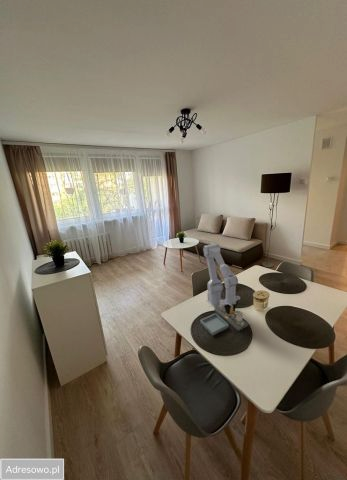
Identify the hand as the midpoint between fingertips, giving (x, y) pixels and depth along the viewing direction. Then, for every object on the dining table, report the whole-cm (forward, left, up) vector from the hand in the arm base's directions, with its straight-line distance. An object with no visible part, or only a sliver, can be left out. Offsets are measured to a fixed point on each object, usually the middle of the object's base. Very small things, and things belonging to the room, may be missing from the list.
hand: (230, 312), depth 120 cm
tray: (0, -13, -4) cm, 14 cm away
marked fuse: (0, 0, -2) cm, 2 cm away
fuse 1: (-7, 0, -3) cm, 8 cm away
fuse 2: (+8, 0, -3) cm, 8 cm away
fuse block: (0, 0, -4) cm, 4 cm away
